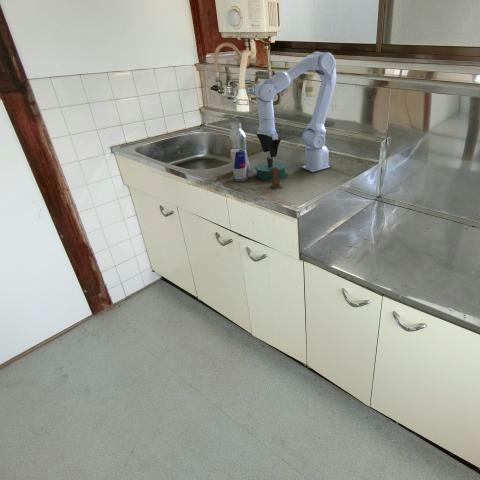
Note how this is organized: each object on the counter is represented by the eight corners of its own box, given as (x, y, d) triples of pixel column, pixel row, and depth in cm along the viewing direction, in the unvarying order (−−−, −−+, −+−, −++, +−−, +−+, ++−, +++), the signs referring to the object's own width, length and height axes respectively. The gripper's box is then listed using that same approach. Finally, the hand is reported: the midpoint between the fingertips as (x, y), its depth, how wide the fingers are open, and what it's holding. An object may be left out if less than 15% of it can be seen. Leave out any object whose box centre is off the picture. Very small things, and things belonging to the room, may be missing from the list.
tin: (275, 169, 153) (274, 160, 150) (290, 176, 145) (290, 167, 143) (252, 176, 146) (251, 166, 144) (267, 183, 139) (266, 174, 137)
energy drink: (246, 182, 141) (242, 152, 135) (233, 182, 141) (228, 152, 135) (249, 177, 145) (245, 147, 139) (236, 177, 146) (231, 148, 139)
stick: (272, 187, 136) (270, 168, 132) (277, 186, 137) (276, 167, 133) (274, 189, 134) (272, 169, 130) (280, 187, 135) (278, 168, 131)
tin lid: (275, 161, 151) (274, 151, 149) (292, 168, 143) (291, 157, 141) (249, 168, 145) (248, 157, 142) (265, 176, 137) (264, 164, 134)
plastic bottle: (253, 171, 151) (248, 122, 141) (240, 175, 147) (233, 125, 137) (244, 168, 155) (238, 120, 145) (231, 172, 151) (224, 123, 141)
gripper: (249, 116, 138) (253, 151, 145) (263, 123, 127) (267, 160, 134) (266, 114, 141) (270, 148, 148) (282, 120, 130) (284, 157, 137)
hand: (269, 154), depth 141 cm, fingers open, 7 cm apart
